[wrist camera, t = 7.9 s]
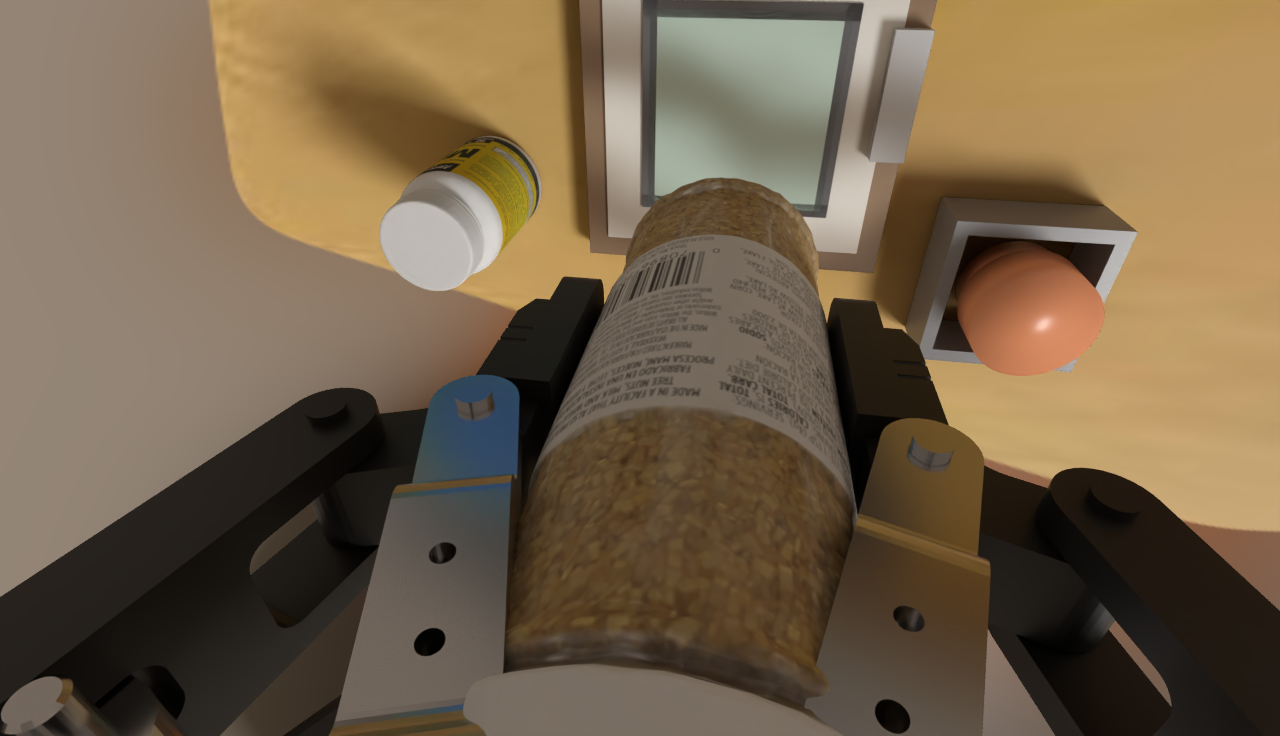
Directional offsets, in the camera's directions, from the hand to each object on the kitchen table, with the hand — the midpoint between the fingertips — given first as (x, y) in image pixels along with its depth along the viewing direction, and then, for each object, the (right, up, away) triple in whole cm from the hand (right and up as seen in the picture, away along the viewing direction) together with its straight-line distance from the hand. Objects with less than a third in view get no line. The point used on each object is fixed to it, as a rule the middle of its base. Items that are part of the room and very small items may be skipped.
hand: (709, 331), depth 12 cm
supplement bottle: (-9, +9, +20) cm, 24 cm away
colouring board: (+3, +12, +16) cm, 20 cm away
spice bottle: (+1, +2, +3) cm, 3 cm away
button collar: (+16, +4, +18) cm, 25 cm away
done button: (+16, +3, +17) cm, 23 cm away
